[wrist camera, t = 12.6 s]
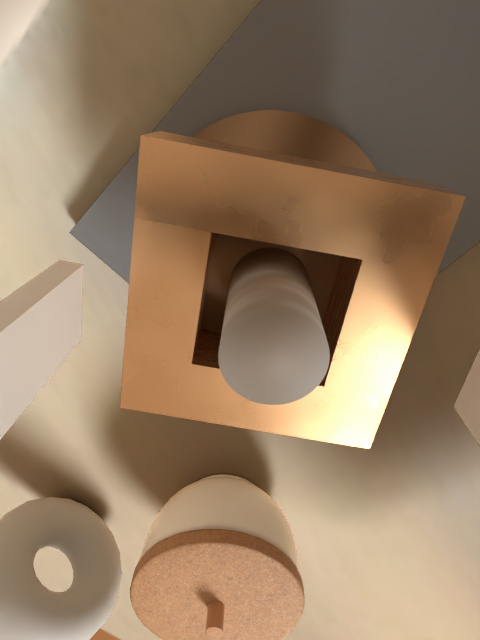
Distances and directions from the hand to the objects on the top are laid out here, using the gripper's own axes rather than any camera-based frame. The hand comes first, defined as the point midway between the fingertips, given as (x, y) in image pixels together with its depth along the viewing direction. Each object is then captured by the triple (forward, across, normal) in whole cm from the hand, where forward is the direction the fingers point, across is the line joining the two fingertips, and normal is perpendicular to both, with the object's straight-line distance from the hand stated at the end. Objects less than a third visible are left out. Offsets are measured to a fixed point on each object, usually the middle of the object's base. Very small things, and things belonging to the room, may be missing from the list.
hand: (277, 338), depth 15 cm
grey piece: (+12, +10, +24) cm, 29 cm away
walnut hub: (+11, 0, 0) cm, 11 cm away
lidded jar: (+13, -1, +21) cm, 24 cm away
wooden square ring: (+4, 0, 0) cm, 4 cm away
